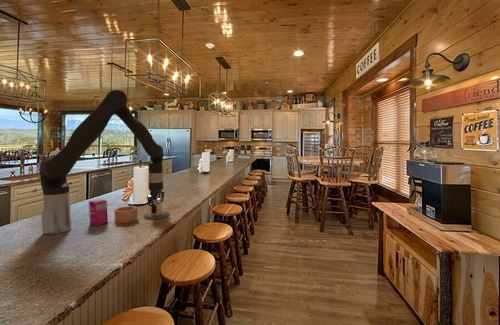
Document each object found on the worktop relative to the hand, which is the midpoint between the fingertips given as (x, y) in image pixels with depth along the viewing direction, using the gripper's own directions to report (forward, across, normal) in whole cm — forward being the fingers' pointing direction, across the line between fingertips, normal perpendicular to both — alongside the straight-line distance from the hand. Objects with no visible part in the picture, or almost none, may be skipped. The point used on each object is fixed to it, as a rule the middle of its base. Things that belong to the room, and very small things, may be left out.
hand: (156, 211), depth 134 cm
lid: (+2, 0, 0) cm, 2 cm away
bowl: (+2, +10, -11) cm, 15 cm away
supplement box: (+2, +18, -20) cm, 27 cm away
